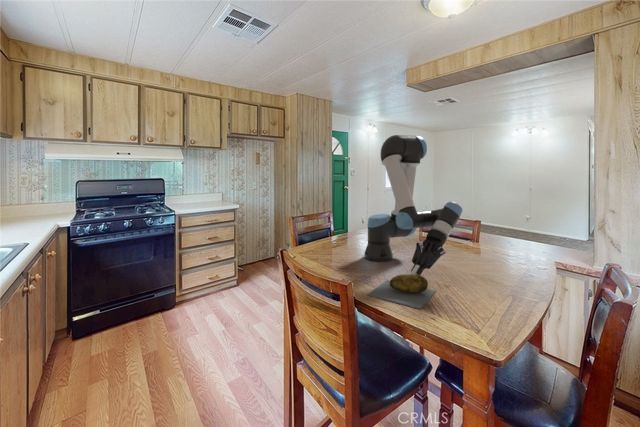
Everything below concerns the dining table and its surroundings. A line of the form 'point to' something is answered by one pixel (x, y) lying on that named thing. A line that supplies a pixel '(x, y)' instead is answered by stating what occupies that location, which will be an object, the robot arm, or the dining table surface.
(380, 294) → the mat
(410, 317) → the dining table surface
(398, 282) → the potato
